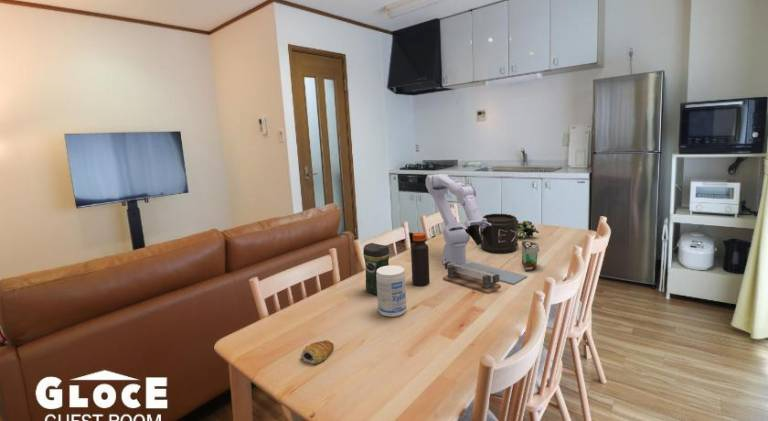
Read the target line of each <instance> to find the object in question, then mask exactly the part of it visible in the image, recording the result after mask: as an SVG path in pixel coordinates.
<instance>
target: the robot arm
mask: <svg viewBox="0 0 768 421" xmlns="http://www.w3.org/2000/svg"><path fill="white" fill-rule="evenodd" d="M425 187H426V189H427V191H428V193H429V195H430V196H432V198H433V201H434V202H435V206H436V207H437V209H438V212H439V214H440V216H441V218H442V220H443V223H444V225H445V228H444V229H443V231H442V234H443V239H444V242H445V244H444V246H443V249H442V250H443V251H442V253H443V255H442V256H443V261H442V265H445V263H446V262H451V263H457V264H460V265H463V266H464V265H466V264H468V263H470V262H471V261H466V260H467V259H466V257H467V255H466V250H467V249H466V248H467V247H466V246H467V245H468V243H469V241H470V238H471V239H472V240H473V242H474V244H476V245H477V246H481V245H480V244H482V239H481V236H480V228H484V230H483V231H482V232H481V234H482V235H483V236H484V237H485V239H486V241H487V243H488V244H489V246H491V245H493V244H494V236H493V232H494V226H493V225H491V223H488V222H487V221H486V220H487V219H486V218H483V216H484V215H483V213H482V211H481V209H480V207H479V204H478V201H477V198H476V196H477V191H476V189H475V187H474V186H473V185H469V186H467V185H466V184H465V183H463V182H460V180H459V179H455V180H452V179H451V178H450V176H449V174H447V173H439V174H427V175H426V178H425ZM448 191H449V193H450V194H452V195H454V196H455V197H456V200H457V202H459V204H460V206H462V208H463V210H464V214H465V215H466V218H467V221H465V222H464V223H463V224H462V223H460V222H458V221H457V219H456V217H455V214H454V213H453V211H452V209H451V207H450V204H449V202H448V200H447V198H446V194H448Z"/></svg>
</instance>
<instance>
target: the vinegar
mask: <svg viewBox="0 0 768 421" xmlns="http://www.w3.org/2000/svg"><path fill="white" fill-rule="evenodd" d="M412 242H413V243H412V244H411V246H410V258H411V259H410V260H411V263H410V264H411V278H412V279H411V280H412V281H411V283H412V284H413V285H414V286H416V287H425V286H427V285H429V284H430V256H429V246H428V244H427V243H426V233H425V232H414V233H412Z"/></svg>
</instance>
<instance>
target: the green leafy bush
mask: <svg viewBox="0 0 768 421" xmlns="http://www.w3.org/2000/svg"><path fill="white" fill-rule="evenodd" d="M534 233H537V234H539V233H540V231H539V230H537V229H536V227H535V225H534V224H533V222H532V221H529V220H523V221H522V222H519V223H518V237H519V238H522V239H521V241H524V239H525V237H526V236H527V237H529V238H530V237H534ZM521 235H522V237H521Z"/></svg>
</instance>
